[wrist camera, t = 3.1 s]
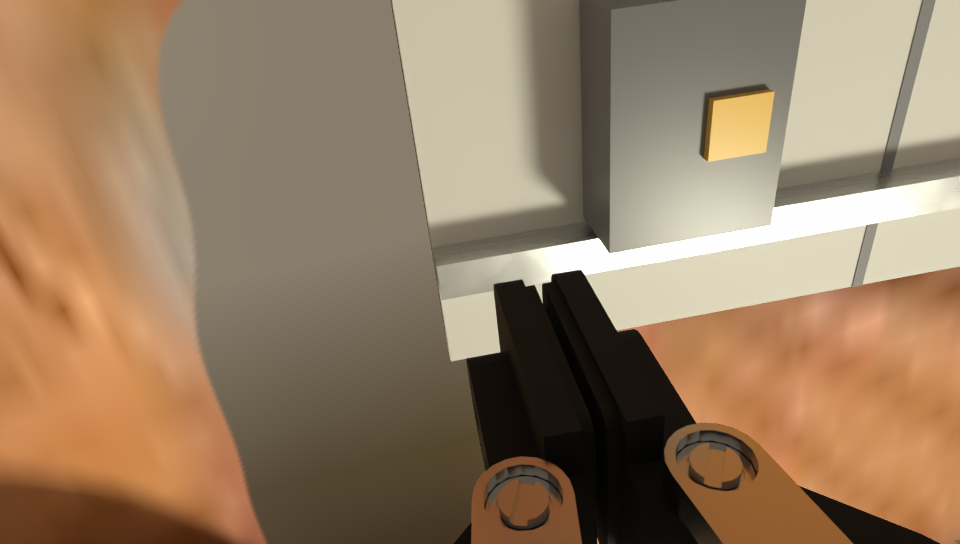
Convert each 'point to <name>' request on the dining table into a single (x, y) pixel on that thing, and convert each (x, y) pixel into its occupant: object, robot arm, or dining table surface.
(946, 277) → the dining table surface
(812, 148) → the wall panel
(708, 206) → the block
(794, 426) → the dining table surface
